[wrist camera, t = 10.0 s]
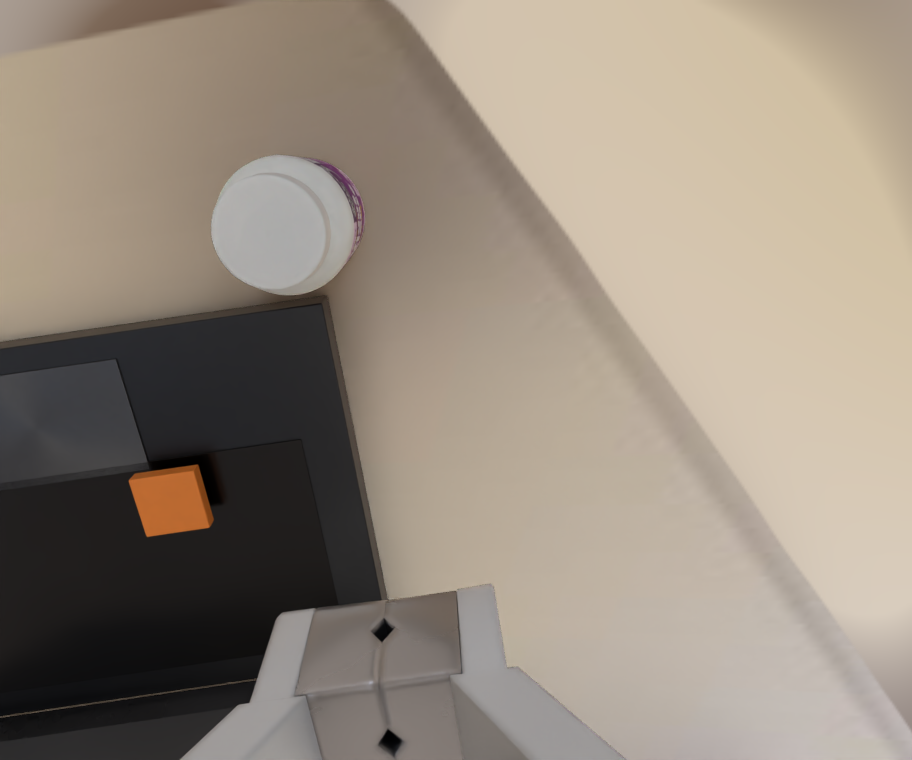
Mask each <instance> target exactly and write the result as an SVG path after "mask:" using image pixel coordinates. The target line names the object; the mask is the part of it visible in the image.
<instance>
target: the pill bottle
mask: <svg viewBox="0 0 912 760" xmlns="http://www.w3.org/2000/svg"><path fill="white" fill-rule="evenodd" d="M364 227H365V210H364V205H363V201H362V198H361V196H360V193H359V191H358V190H357V188H356V186H355V185H354V183H353V182H352V181H351V179H350V178H349V177H348V176H347V175H346V174H345V173H343V172H342V171H341V170H340V169H338V168H337V167H335V166H333V165H331V164H329V163H326V162H324V161H321V160H317V159H312V158H304V157H296V156H290V155H272V156H266V157H262V158H259V159H256V160H254V161H251V162H250V163H248V164H246V165H244V166H243V167H241V168H240V169H239V170H237V171H236V172H235V173H234V174H233V175H232V176H231V177H230V178H229V180H228V181H227V182H226V184H225V185H224V187H223V189H222V191H221V193H220V195H219V198H218V201H217V204H216V206H215V208H214V211H213V215H212V221H211V237H212V242H213V245H214V248H215V251H216V253H217V255H218V257H219V259H220V260H221V262H222V263H223V265H224V266H225V267H226V268H227V270H228V271H229V272H230V273H231V274H233V275H234V276H235V277H236V278H238V279H239V280H241V281H242V282H244V283H246V284H248V285H250V286H253V287H256V288H258V289H260V290H263V291H265V292H269V293H273V294H278V295H300V294H305V293H308V292H311V291H314V290H316V289H318V288H320V287H322V286H324V285H325V284H327V283H328V282H329V281H331V280H332V279H333V278H334V277H335V276H336V275H337V274H338V273H339V271H340V270H341V269H342V268H343V266H344V265H345V264H346V263H347V262H348V260H349V259H350V258H351V256H352V255H353V253H354V252H355V250H356V249H357V247H358V245H359V243H360V241H361V238H362V236H363V232H364Z"/></svg>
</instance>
